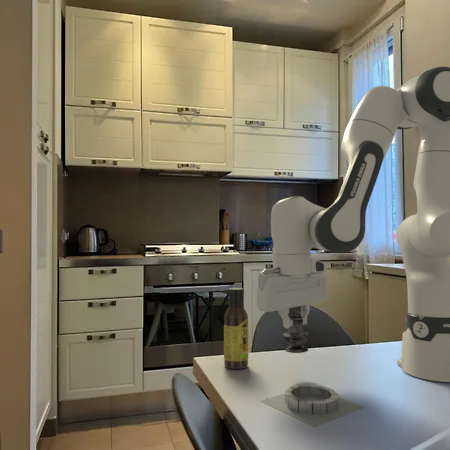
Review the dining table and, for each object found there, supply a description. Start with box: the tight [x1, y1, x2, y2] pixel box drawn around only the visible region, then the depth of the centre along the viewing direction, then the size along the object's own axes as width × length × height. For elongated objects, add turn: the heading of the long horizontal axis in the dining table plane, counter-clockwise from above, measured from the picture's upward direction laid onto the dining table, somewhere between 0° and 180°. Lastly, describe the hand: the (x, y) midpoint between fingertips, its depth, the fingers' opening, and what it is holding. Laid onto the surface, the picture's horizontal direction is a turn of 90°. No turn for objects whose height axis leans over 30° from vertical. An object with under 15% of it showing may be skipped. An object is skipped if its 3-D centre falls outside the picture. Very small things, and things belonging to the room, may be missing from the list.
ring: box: [284, 383, 339, 415], centre depth 79 cm, size 10×10×2 cm
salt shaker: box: [282, 306, 309, 354], centre depth 94 cm, size 6×6×12 cm
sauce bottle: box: [223, 287, 249, 370], centre depth 105 cm, size 6×6×20 cm
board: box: [260, 392, 365, 428], centre depth 79 cm, size 14×14×1 cm
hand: (295, 326), depth 94 cm, fingers closed on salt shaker, 3 cm apart
